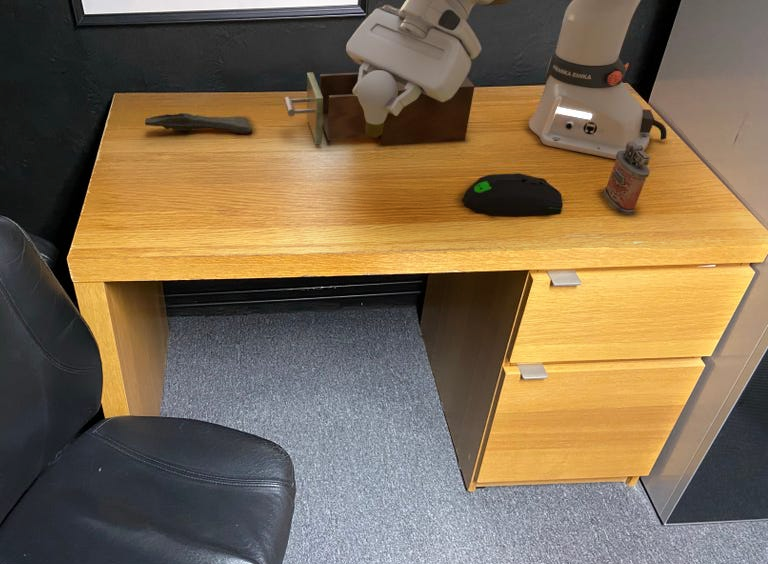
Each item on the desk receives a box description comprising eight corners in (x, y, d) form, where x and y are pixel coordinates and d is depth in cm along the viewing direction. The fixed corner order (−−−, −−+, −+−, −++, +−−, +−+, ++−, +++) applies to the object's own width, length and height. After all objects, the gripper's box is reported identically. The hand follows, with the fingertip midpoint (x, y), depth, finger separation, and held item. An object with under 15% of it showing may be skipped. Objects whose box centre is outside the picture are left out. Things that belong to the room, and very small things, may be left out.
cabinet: (380, 146, 133) (385, 91, 125) (366, 116, 142) (370, 63, 135) (464, 140, 134) (474, 86, 127) (444, 111, 144) (453, 59, 137)
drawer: (290, 145, 131) (289, 99, 125) (282, 117, 140) (282, 73, 134) (395, 139, 133) (400, 93, 127) (381, 112, 142) (385, 68, 136)
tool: (247, 124, 143) (248, 109, 141) (253, 138, 137) (254, 122, 135) (144, 123, 138) (143, 107, 137) (145, 137, 132) (145, 121, 131)
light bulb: (367, 149, 103) (373, 82, 97) (347, 133, 107) (351, 68, 100) (400, 141, 105) (408, 75, 98) (379, 125, 109) (385, 61, 102)
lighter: (598, 191, 120) (617, 136, 113) (617, 190, 120) (637, 135, 113) (618, 215, 114) (639, 159, 107) (638, 214, 114) (660, 158, 107)
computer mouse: (454, 184, 122) (457, 163, 119) (545, 180, 122) (551, 159, 120) (471, 219, 113) (475, 197, 111) (569, 214, 114) (576, 193, 111)
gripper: (370, -12, 103) (318, 70, 106) (475, 26, 92) (413, 117, 94) (389, 14, 108) (338, 92, 111) (490, 53, 97) (431, 138, 99)
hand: (373, 104), depth 102 cm, fingers closed on light bulb, 6 cm apart
